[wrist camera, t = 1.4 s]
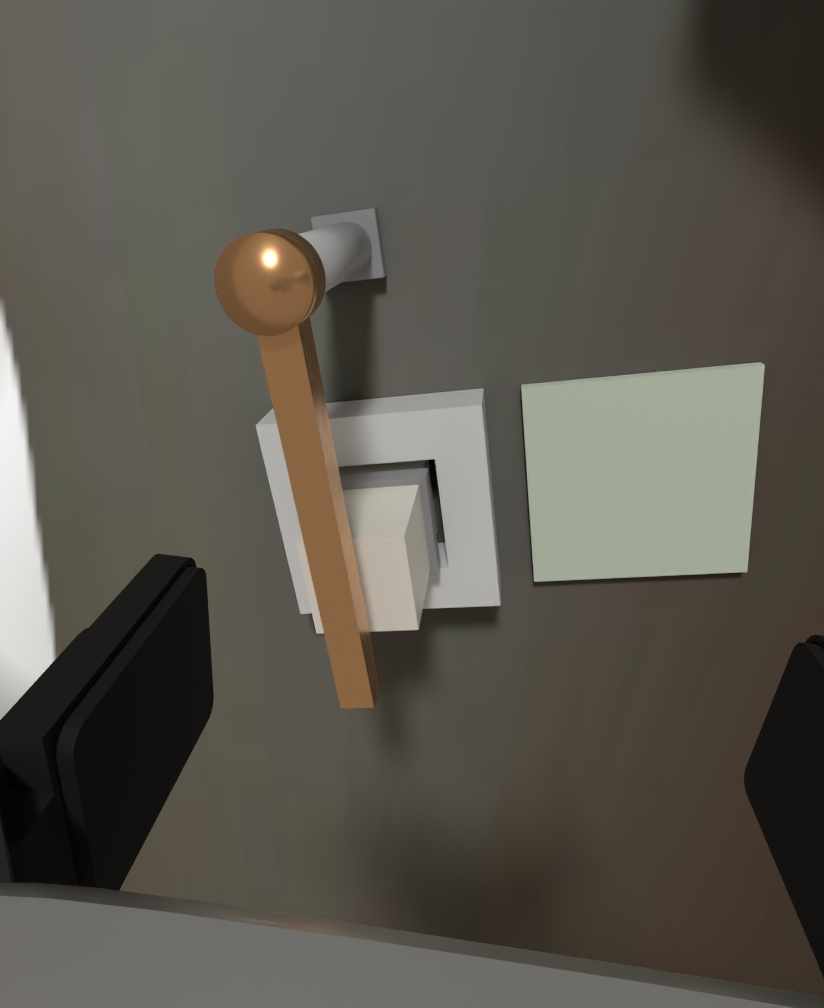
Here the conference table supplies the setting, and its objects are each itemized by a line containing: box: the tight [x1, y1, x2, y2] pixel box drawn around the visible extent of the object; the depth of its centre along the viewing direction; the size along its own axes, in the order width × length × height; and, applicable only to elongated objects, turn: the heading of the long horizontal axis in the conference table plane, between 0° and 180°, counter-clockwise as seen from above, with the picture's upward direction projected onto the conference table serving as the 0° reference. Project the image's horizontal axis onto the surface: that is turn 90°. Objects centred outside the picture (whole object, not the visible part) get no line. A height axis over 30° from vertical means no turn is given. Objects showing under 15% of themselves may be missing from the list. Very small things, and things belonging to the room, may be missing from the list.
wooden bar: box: [215, 229, 380, 708], centre depth 26 cm, size 20×3×2 cm, turn 8°
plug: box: [296, 460, 440, 633], centre depth 36 cm, size 6×6×10 cm
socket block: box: [256, 208, 501, 614], centre depth 33 cm, size 12×22×12 cm, turn 8°
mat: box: [521, 362, 765, 582], centre depth 38 cm, size 12×12×1 cm
